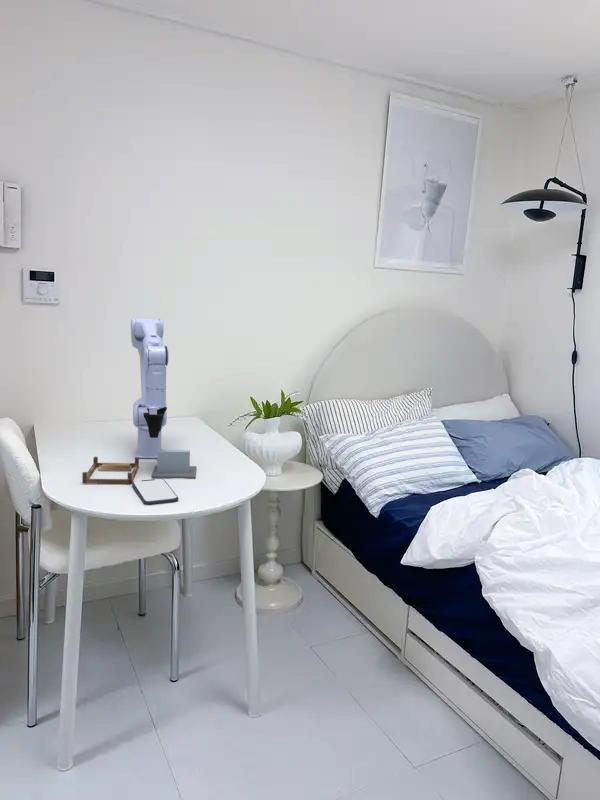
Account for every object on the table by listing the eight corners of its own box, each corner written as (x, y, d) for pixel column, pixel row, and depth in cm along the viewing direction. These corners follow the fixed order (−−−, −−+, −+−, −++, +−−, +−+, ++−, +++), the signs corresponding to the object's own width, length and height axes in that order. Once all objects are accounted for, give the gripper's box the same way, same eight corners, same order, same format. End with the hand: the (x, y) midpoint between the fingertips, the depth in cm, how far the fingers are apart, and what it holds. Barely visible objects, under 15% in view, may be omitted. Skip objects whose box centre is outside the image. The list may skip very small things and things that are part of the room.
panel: (157, 469, 169) (158, 449, 168) (189, 470, 171) (189, 450, 170) (157, 471, 167) (157, 451, 166) (189, 472, 169) (189, 452, 168)
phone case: (179, 504, 147) (163, 483, 161) (180, 498, 147) (163, 477, 161) (144, 508, 143) (130, 486, 157) (144, 502, 143) (130, 481, 157)
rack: (94, 466, 171) (94, 456, 170) (138, 467, 173) (138, 457, 172) (82, 484, 156) (82, 473, 155) (131, 484, 158) (131, 473, 157)
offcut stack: (99, 468, 170) (99, 462, 170) (131, 468, 171) (131, 463, 171) (97, 471, 167) (97, 465, 167) (130, 471, 168) (130, 466, 168)
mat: (155, 467, 173) (155, 465, 173) (196, 468, 175) (196, 466, 175) (151, 478, 164) (151, 476, 163) (195, 478, 165) (195, 476, 165)
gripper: (144, 384, 174) (144, 428, 177) (138, 391, 160) (137, 440, 162) (168, 384, 175) (168, 429, 178) (164, 392, 161) (164, 440, 163)
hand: (155, 434), depth 170 cm, fingers open, 7 cm apart
